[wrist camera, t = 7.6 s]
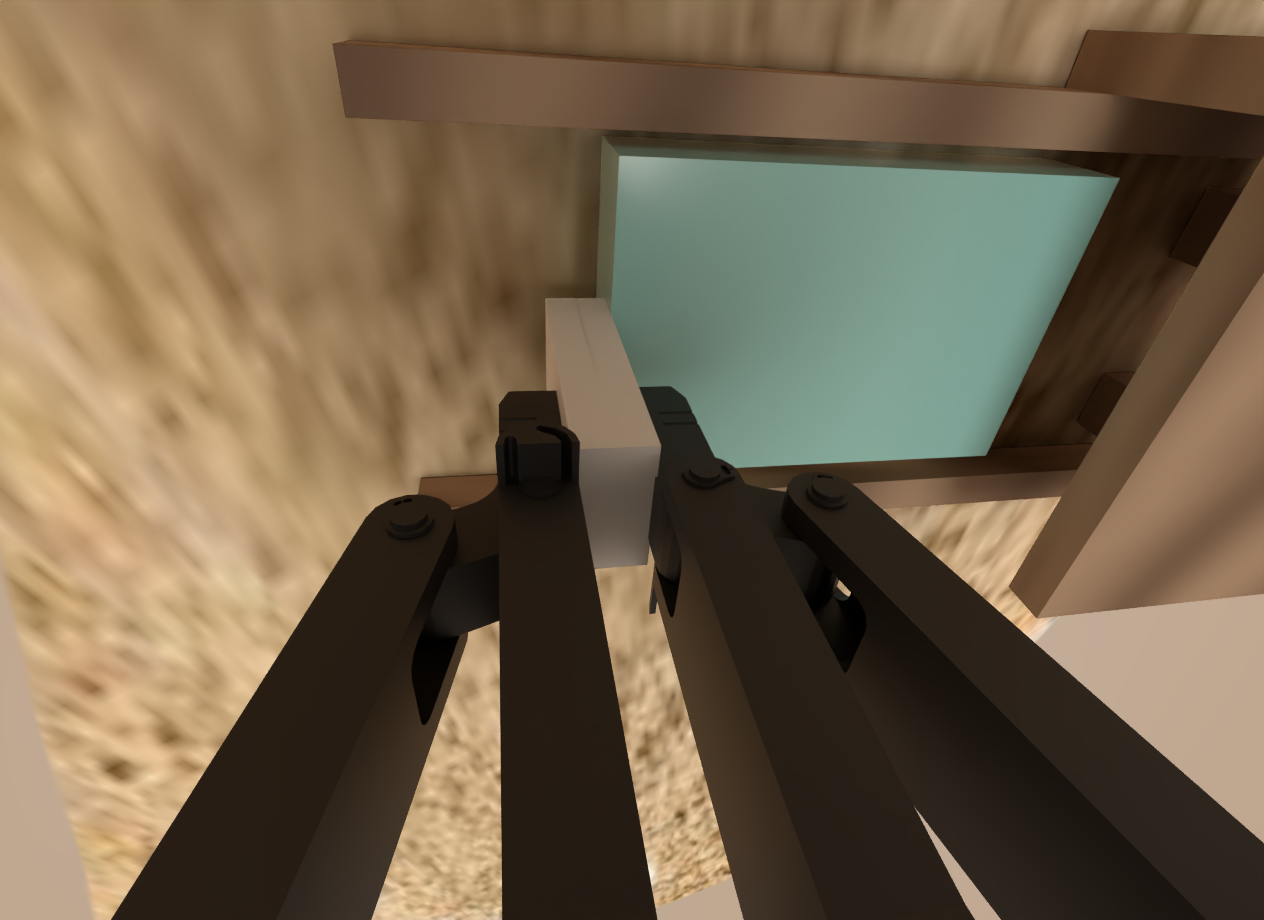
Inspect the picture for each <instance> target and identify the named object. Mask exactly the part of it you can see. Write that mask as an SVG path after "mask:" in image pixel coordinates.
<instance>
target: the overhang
mask: <svg viewBox="0 0 1264 920" xmlns="http://www.w3.org/2000/svg"><path fill="white" fill-rule="evenodd" d="M333 49H334V55H335V60H336V66H337V71H338V77H339V83H340V88H341V94H342V99H343V105H344V111H345V116H346V118H368V119H390V120H412V121H434V122H456V123H478V124H500V125H522V126H544V127H566V128H588V129H610V130H632V131H654V132H676V133H698V134H720V135H743V136H765V137H787V138H809V139H831V140H853V141H875V142H897V143H919V144H941V145H963V146H985V147H1007V148H1029V149H1051V150H1073V151H1095V152H1117V153H1139V154H1161V155H1183V156H1205V157H1227V158H1249V159H1261V161H1260V163H1259V164H1258V166H1257V168H1256V169H1255V171H1254V173H1253V174H1252V176H1251V178H1250V179H1249V181H1248V183H1247V185H1246V186H1245V188H1244V189H1232V188H1208V189H1207V191H1206V192H1205V194H1204V196H1203V198H1202V199H1201V201H1200V203H1199V205H1198V207H1197V208H1196V210H1195V212H1194V214H1193V216H1192V217H1191V219H1190V221H1189V223H1188V224H1187V226H1186V228H1185V230H1184V232H1183V233H1182V235H1181V237H1180V239H1179V241H1178V242H1177V244H1176V246H1175V248H1174V249H1173V251H1172V253H1171V255H1170V257H1171V258H1174V259H1176V260H1179V261H1182V262H1184V263H1187V264H1190V265H1193V266H1195V267H1197V269H1196V271H1195V272H1194V274H1193V276H1192V277H1191V279H1190V281H1189V283H1188V284H1187V286H1186V288H1185V289H1184V291H1183V293H1182V294H1181V296H1180V298H1179V299H1178V301H1177V303H1176V305H1175V306H1174V308H1173V310H1172V311H1171V313H1170V315H1169V316H1168V318H1167V320H1166V321H1165V323H1164V325H1163V326H1162V328H1161V330H1160V332H1159V333H1158V335H1157V337H1156V338H1155V340H1154V342H1153V343H1152V345H1151V347H1150V348H1149V350H1148V352H1147V354H1146V355H1145V357H1144V359H1143V360H1142V362H1141V364H1140V365H1139V367H1138V369H1137V370H1136V372H1123V373H1104V374H1103V376H1102V378H1101V380H1100V382H1099V383H1098V385H1097V387H1096V389H1095V391H1094V392H1093V394H1092V396H1091V398H1090V399H1089V401H1088V403H1087V405H1086V407H1085V408H1084V410H1083V412H1082V414H1081V416H1080V417H1079V419H1078V421H1077V423H1079V424H1080V425H1081V426H1083V427H1084V428H1086V429H1087V430H1088V431H1090V432H1091V433H1092V434H1094V435H1095V436H1097V438H1096V440H1095V441H1094V443H1093V444H1074V445H1055V446H1036V447H1016V448H997V449H989V450H988V452H987V454H986V456H965V457H945V458H925V459H905V460H884V461H864V462H844V463H824V464H803V465H783V466H763V467H742V468H735V469H736V470H737V471H738V472H739V473H740V475H741V477H742V479H743V480H744V482H745V484H748V485H751V486H755V487H760V488H766V489H772V490H778V491H784V492H786V490H787V486H788V484H789V482H790V481H791V479H792V478H793V477H795V476H797V475H799V474H802V473H807V472H821V473H828V474H832V475H835V476H837V477H840V478H843V479H845V480H847V481H848V482H850V483H851V484H853V485H854V486H856V487H857V488H858V489H860V490H861V491H862V492H863V493H864V494H865V495H866V496H868V497H869V498H870V499H871V500H872V501H873V502H874V503H876V504H877V505H878V506H879V507H880V508H881V509H887V508H901V507H916V506H930V505H945V504H959V503H974V502H988V501H1003V500H1017V499H1031V498H1046V497H1060V496H1062V497H1061V499H1060V501H1059V502H1058V504H1057V506H1056V507H1055V509H1054V511H1053V512H1052V514H1051V516H1050V517H1049V519H1048V521H1047V523H1046V524H1045V526H1044V528H1043V529H1042V531H1041V533H1040V534H1039V536H1038V538H1037V539H1036V541H1035V543H1034V545H1033V546H1032V548H1031V550H1030V551H1029V553H1028V555H1027V556H1026V558H1025V560H1024V561H1023V563H1022V565H1021V566H1020V568H1019V570H1018V572H1017V573H1016V575H1015V577H1014V578H1013V580H1012V582H1011V583H1010V585H1009V588H1010V589H1011V590H1012V591H1013V592H1014V593H1015V594H1016V596H1017V597H1018V598H1019V599H1020V600H1021V601H1022V602H1023V603H1024V605H1025V606H1026V607H1027V608H1028V609H1029V610H1030V611H1031V613H1032V614H1033V615H1034V616H1035V617H1036V618H1045V617H1054V616H1063V615H1073V614H1082V613H1091V612H1100V611H1110V610H1119V609H1128V608H1137V607H1146V606H1156V605H1165V604H1174V603H1183V602H1191V601H1201V600H1210V599H1220V598H1229V597H1239V596H1248V595H1256V594H1264V37H1256V36H1229V35H1203V34H1177V33H1150V32H1124V31H1097V30H1088V33H1087V35H1086V38H1085V40H1084V43H1083V45H1082V48H1081V50H1080V52H1079V55H1078V57H1077V60H1076V62H1075V65H1074V67H1073V70H1072V72H1071V75H1070V77H1069V80H1068V82H1067V85H1066V87H1065V88H1060V87H1045V86H1029V85H1014V84H999V83H984V82H969V81H954V80H939V79H923V78H908V77H893V76H878V75H863V74H848V73H833V72H817V71H802V70H787V69H772V68H757V67H742V66H727V65H711V64H696V63H681V62H666V61H651V60H636V59H621V58H605V57H590V56H575V55H560V54H545V53H530V52H514V51H499V50H484V49H469V48H454V47H439V46H424V45H408V44H393V43H378V42H363V41H344V42H339V43H334V44H333ZM497 484H498V477H497V475H480V476H461V477H441V478H422V479H421V480H420V487H419V493H418V495H428V496H432V497H437V498H440V499H441V500H443V501H444V502H446V503H447V504H449V505H450V507H451V509H452V510H453V509H457V508H460V507H464V506H467V505H470V504H472V503H475V502H477V501H479V500H481V499H483V498H484V497H486V496H487V495H488V494H490V493H491V492H492V491H493V490H494V488H495V487H496V485H497Z"/></svg>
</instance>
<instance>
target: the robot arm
mask: <svg viewBox="0 0 1264 920" xmlns="http://www.w3.org/2000/svg"><path fill="white" fill-rule="evenodd" d="M545 306H546V391H513V392H508V393H507V395H506V396H505V397H504V398H503V400H502V401H501V402H500V404H499V436H498V439H497V442H496V445H495V447H496V462H497V477H498V484H497V485H496V487H495V488H494V490H493V491H492V492H491V493H490V494H488V495H487V496H486V497H484V498H483V499H481V500H479V501H477V502H475V503H472V504H470V505H467V506H464V507H460V508H457V509H453V510H452V509H451V507H450V505H449V504H447V503H446V502H444V501H443V500H441V499H440V498H437V497H432V496H428V495H406V496H402V497H398V498H394V499H390V500H388V501H387V502H385V503H383V504H381V505H379V506H377V507H376V508H375V509H374V510H373V511H372V512H371V513H370V514H369V515H368V516H367V517H366V518H365V520H364V521H363V523H362V525H361V526H360V528H359V529H358V531H357V532H356V534H355V536H354V537H353V539H352V540H351V542H350V543H349V545H348V547H347V548H346V550H345V551H344V553H343V555H342V556H341V558H340V559H339V561H338V562H337V564H336V566H335V567H334V569H333V570H332V572H331V573H330V575H329V577H328V578H327V580H326V581H325V583H324V584H323V586H322V588H321V589H320V591H319V592H318V594H317V596H316V597H315V599H314V600H313V602H312V603H311V605H310V607H309V608H308V610H307V611H306V613H305V614H304V616H303V618H302V619H301V621H300V622H299V624H298V625H297V627H296V629H295V630H294V632H293V633H292V635H291V637H290V638H289V640H288V641H287V643H286V644H285V646H284V648H283V649H282V651H281V652H280V654H279V655H278V657H277V659H276V660H275V662H274V663H273V665H272V667H271V668H270V670H269V671H268V673H267V674H266V676H265V678H264V679H263V681H262V682H261V684H260V685H259V687H258V689H257V690H256V692H255V693H254V695H253V696H252V698H251V700H250V701H249V703H248V704H247V706H246V708H245V709H244V711H243V712H242V714H241V715H240V717H239V719H238V720H237V722H236V723H235V725H234V726H233V728H232V730H231V731H230V733H229V734H228V736H227V738H226V739H225V741H224V742H223V744H222V745H221V747H220V749H219V750H218V752H217V753H216V755H215V756H214V758H213V760H212V761H211V763H210V764H209V766H208V767H207V769H206V771H205V772H204V774H203V775H202V777H201V779H200V780H199V782H198V783H197V785H196V786H195V788H194V790H193V791H192V793H191V794H190V796H189V797H188V799H187V801H186V802H185V804H184V805H183V807H182V809H181V810H180V812H179V813H178V815H177V816H176V818H175V820H174V821H173V823H172V824H171V826H170V827H169V829H168V831H167V832H166V834H165V835H164V837H163V838H162V840H161V842H160V843H159V845H158V846H157V848H156V850H155V851H154V853H153V854H152V856H151V857H150V859H149V861H148V862H147V864H146V865H145V867H144V868H143V870H142V872H141V873H140V875H139V876H138V878H137V879H136V881H135V883H134V884H133V886H132V887H131V889H130V891H129V892H128V894H127V895H126V897H125V898H124V900H123V902H122V903H121V905H120V906H119V908H118V909H117V911H116V913H115V914H114V916H113V917H112V919H111V920H371V919H372V916H373V913H374V910H375V907H376V904H377V902H378V899H379V896H380V893H381V890H382V887H383V884H384V881H385V878H386V875H387V872H388V870H389V867H390V864H391V861H392V858H393V855H394V852H395V849H396V846H397V843H398V840H399V837H400V835H401V832H402V829H403V826H404V823H405V820H406V817H407V814H408V811H409V808H410V805H411V803H412V800H413V797H414V794H415V791H416V788H417V785H418V782H419V779H420V776H421V773H422V770H423V768H424V765H425V762H426V759H427V756H428V753H429V750H430V747H431V744H432V741H433V738H434V736H435V733H436V730H437V727H438V724H439V721H440V718H441V715H442V712H443V709H444V706H445V703H446V701H447V698H448V695H449V692H450V689H451V686H452V683H453V680H454V677H455V674H456V671H457V668H458V666H459V663H460V660H461V657H462V654H463V651H464V648H465V645H466V642H467V638H468V632H470V631H472V630H475V629H478V628H480V627H483V626H486V625H489V624H491V623H494V622H497V621H499V624H500V726H501V828H502V920H657V915H656V909H655V904H654V898H653V892H652V887H651V881H650V876H649V870H648V865H647V859H646V853H645V848H644V842H643V837H642V831H641V826H640V820H639V815H638V809H637V803H636V798H635V792H634V787H633V781H632V776H631V770H630V765H629V759H628V753H627V748H626V742H625V737H624V731H623V726H622V720H621V714H620V709H619V703H618V698H617V692H616V687H615V681H614V676H613V670H612V664H611V659H610V653H609V648H608V642H607V637H606V631H605V625H604V620H603V614H602V609H601V603H600V598H599V592H598V587H597V581H596V575H595V570H594V569H597V568H611V567H624V566H637V565H647V562H648V554H649V545H650V547H651V551H652V554H653V557H654V561H655V564H654V572H653V580H652V588H651V596H650V604H649V614H653V613H655V612H656V604H657V602H658V605H659V609H660V613H661V616H662V620H663V624H664V627H665V631H666V635H667V638H668V642H669V646H670V650H671V653H672V657H673V661H674V664H675V668H676V672H677V675H678V679H679V683H680V686H681V690H682V694H683V697H684V701H685V705H686V708H687V712H688V716H689V720H690V723H691V727H692V731H693V734H694V738H695V742H696V745H697V749H698V753H699V756H700V760H701V764H702V767H703V771H704V775H705V778H706V782H707V786H708V790H709V793H710V797H711V801H712V804H713V808H714V812H715V815H716V819H717V823H718V826H719V830H720V834H721V837H722V841H723V845H724V848H725V852H726V856H727V860H728V863H729V867H730V871H731V874H732V878H733V881H734V885H735V889H736V893H737V896H738V900H739V903H740V907H741V911H742V914H743V918H744V920H975V919H974V918H973V916H972V914H971V913H970V911H969V909H968V908H967V906H966V905H965V903H964V901H963V899H962V897H961V895H960V893H959V892H958V889H957V888H956V886H955V884H954V882H953V880H952V878H951V876H950V874H949V872H948V870H947V868H946V867H945V865H944V863H943V861H942V859H941V857H940V855H939V853H938V851H937V849H936V847H935V846H934V844H933V842H932V840H931V838H930V836H929V834H928V832H927V830H926V828H925V826H924V825H923V823H922V821H921V819H920V817H919V815H918V813H917V811H916V809H917V810H918V812H919V813H920V814H921V815H922V817H923V818H924V820H925V821H926V822H927V823H928V825H929V826H930V827H931V829H932V830H933V831H934V833H935V834H936V835H937V837H938V838H939V839H940V840H941V842H942V843H943V844H944V846H945V847H946V848H947V850H948V851H949V852H950V853H951V854H952V856H953V857H954V859H955V860H956V861H957V862H958V864H959V865H960V866H961V868H962V869H963V870H964V872H965V873H966V874H967V876H968V877H969V878H970V880H971V881H972V882H973V883H974V885H975V886H976V887H977V889H978V890H979V891H980V893H981V894H982V895H983V897H984V898H985V899H986V900H987V902H988V903H989V904H990V906H991V907H992V908H993V909H994V911H995V912H996V913H997V915H998V916H999V917H1000V919H1001V920H1264V843H1263V842H1262V841H1261V840H1259V839H1258V838H1257V837H1256V836H1255V835H1254V834H1253V833H1251V832H1250V831H1249V830H1248V829H1247V828H1246V827H1245V826H1243V825H1242V824H1241V823H1240V822H1239V821H1238V820H1237V819H1235V818H1234V817H1233V816H1232V815H1231V814H1230V813H1229V812H1227V811H1226V810H1225V809H1224V808H1223V807H1222V806H1220V805H1219V804H1218V803H1217V802H1216V801H1215V800H1214V799H1213V798H1211V797H1210V796H1209V795H1208V794H1207V793H1206V792H1205V791H1203V790H1202V789H1201V788H1200V787H1199V786H1198V785H1196V784H1195V783H1194V782H1193V781H1192V780H1191V779H1190V778H1189V777H1187V776H1186V775H1185V774H1184V773H1183V772H1182V771H1181V770H1179V769H1178V768H1177V767H1176V766H1175V765H1174V764H1172V763H1171V762H1170V761H1169V760H1168V759H1167V758H1166V757H1165V756H1163V755H1162V754H1161V753H1160V752H1159V751H1157V749H1155V748H1154V747H1153V746H1152V745H1151V744H1150V743H1149V742H1147V741H1146V740H1145V739H1144V738H1143V737H1142V736H1141V735H1139V734H1138V733H1137V732H1136V731H1135V730H1134V729H1133V728H1131V727H1130V726H1129V725H1128V724H1127V723H1126V722H1125V721H1123V720H1122V719H1121V718H1120V717H1119V716H1118V715H1117V714H1115V713H1114V712H1113V711H1112V710H1111V709H1110V708H1109V707H1107V706H1106V705H1105V704H1104V703H1103V702H1102V701H1101V700H1100V699H1098V698H1097V697H1096V696H1095V695H1093V694H1092V692H1090V691H1089V690H1088V689H1087V688H1086V687H1084V686H1083V685H1082V684H1081V683H1080V682H1079V681H1077V679H1076V678H1074V677H1073V676H1072V675H1071V674H1070V673H1069V672H1068V671H1066V670H1065V669H1064V668H1063V667H1062V666H1061V665H1059V664H1058V663H1057V662H1056V661H1055V660H1054V659H1053V658H1052V657H1050V656H1049V655H1048V654H1047V653H1046V652H1045V651H1044V650H1042V649H1041V648H1040V647H1039V646H1038V645H1037V644H1036V643H1034V642H1033V641H1032V640H1031V639H1030V638H1029V637H1028V636H1026V635H1025V634H1024V633H1023V632H1022V631H1021V630H1020V629H1018V628H1017V627H1016V626H1015V625H1014V624H1013V623H1012V622H1010V621H1009V620H1008V619H1007V618H1006V617H1005V616H1004V615H1002V614H1001V613H1000V612H999V611H998V610H997V609H996V608H994V607H993V606H992V605H991V604H990V603H989V602H988V601H986V600H985V599H984V598H983V597H982V596H981V595H980V594H978V593H977V592H976V591H975V590H974V589H973V588H972V587H970V586H969V585H968V584H967V583H966V582H965V581H964V580H962V579H961V578H960V577H959V576H958V575H957V574H956V573H954V572H953V571H952V570H951V569H950V568H949V567H948V566H946V565H945V564H944V563H943V562H942V561H941V560H940V559H938V558H937V557H936V556H935V555H934V554H933V553H932V552H930V551H929V550H928V549H927V548H926V547H925V546H924V545H922V544H921V543H920V542H919V541H918V540H917V539H916V538H914V537H913V536H912V535H911V534H910V533H909V532H908V531H906V530H905V529H904V528H903V527H902V526H901V525H900V524H898V523H897V522H896V521H895V520H894V519H893V518H892V517H890V516H889V515H888V514H887V513H886V512H885V511H884V510H882V509H881V508H880V507H879V506H878V505H877V504H876V503H874V502H873V501H872V500H871V499H870V498H869V497H868V496H866V495H865V494H864V493H863V492H862V491H861V490H860V489H858V488H857V487H856V486H854V485H853V484H851V483H850V482H848V481H847V480H845V479H843V478H840V477H837V476H835V475H832V474H828V473H821V472H807V473H802V474H799V475H797V476H795V477H793V478H792V479H791V481H790V482H789V484H788V486H787V490H786V492H784V491H778V490H772V489H766V488H760V487H755V486H751V485H748V484H745V482H744V480H743V479H742V477H741V475H740V473H739V472H738V471H737V470H736V469H735V468H734V466H732V465H731V464H729V463H727V462H726V461H724V460H722V459H719V458H716V457H715V456H714V454H713V452H712V450H711V448H710V446H709V444H708V442H707V440H706V438H705V436H704V434H703V432H702V430H701V428H700V426H699V424H698V423H697V420H696V418H695V415H694V414H692V409H691V407H690V405H689V403H688V401H687V399H686V397H684V396H683V395H682V394H680V393H679V392H678V391H677V390H675V389H674V388H673V387H671V386H654V387H639V386H638V384H637V381H636V378H635V376H634V373H633V370H632V368H631V365H630V363H629V360H628V357H627V355H626V352H625V349H624V347H623V344H622V342H621V339H620V336H619V334H618V331H617V328H616V326H615V323H614V321H613V318H612V315H611V314H610V311H609V309H608V306H607V303H606V301H605V298H545ZM839 580H840V581H841V582H842V583H843V584H844V585H845V586H846V587H847V589H848V590H849V591H850V592H851V595H850V596H849V597H848V596H846V595H845V594H844V593H843V592H841V590H840V589H839V588H838V587H837V584H838V581H839ZM914 806H915V807H914ZM915 808H916V809H915Z"/></svg>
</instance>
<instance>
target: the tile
mask: <svg viewBox="0 0 1264 920" xmlns="http://www.w3.org/2000/svg"><path fill="white" fill-rule="evenodd" d="M1119 179H1120V178H1118V177H1114V176H1110V175H1107V174H1103V173H1099V172H1096V171H1092V170H1088V169H1085V168H1081V167H1077V166H1073V165H1070V164H1066V163H1062V162H1059V161H1055V160H1051V159H1048V158H1038V157H1019V156H999V155H979V154H959V153H940V152H920V151H900V150H880V149H861V148H841V147H821V146H801V145H782V144H762V143H742V142H722V141H703V140H683V139H663V138H643V137H624V136H604V135H602V156H601V183H600V209H599V236H598V262H597V289H596V298H605V301H606V303H607V306H608V309H609V311H610V314H611V315H612V318H613V321H614V323H615V326H616V328H617V331H618V334H619V336H620V339H621V342H622V344H623V347H624V349H625V352H626V355H627V357H628V360H629V363H630V365H631V368H632V370H633V373H634V376H635V378H636V381H637V384H638V386H639V387H654V386H671V387H673V388H674V389H675V390H677V391H678V392H679V393H680V394H682V395H683V396H684V397H686V399H687V401H688V403H689V405H690V407H691V409H692V414H694V415H695V418H696V420H697V423H698V424H699V426H700V428H701V430H702V432H703V434H704V436H705V438H706V440H707V442H708V444H709V446H710V448H711V450H712V452H713V454H714V456H715V457H716V458H719V459H722V460H724V461H726V462H727V463H729V464H731V465H732V466H734V468H742V467H763V466H783V465H803V464H824V463H844V462H864V461H884V460H905V459H925V458H945V457H965V456H986V454H987V452H988V450H989V448H990V446H991V444H992V442H993V440H994V438H995V436H996V434H997V432H998V430H999V427H1000V425H1001V423H1002V421H1003V419H1004V417H1005V415H1006V413H1007V411H1008V409H1009V407H1010V405H1011V403H1012V401H1013V399H1014V396H1015V394H1016V392H1017V390H1018V388H1019V386H1020V384H1021V382H1022V380H1023V378H1024V376H1025V374H1026V372H1027V370H1028V367H1029V365H1030V363H1031V361H1032V359H1033V357H1034V355H1035V353H1036V351H1037V349H1038V347H1039V345H1040V343H1041V341H1042V338H1043V336H1044V334H1045V332H1046V330H1047V328H1048V326H1049V324H1050V322H1051V320H1052V318H1053V316H1054V314H1055V312H1056V310H1057V307H1058V305H1059V303H1060V301H1061V299H1062V297H1063V295H1064V293H1065V291H1066V289H1067V287H1068V285H1069V283H1070V281H1071V278H1072V276H1073V274H1074V272H1075V270H1076V268H1077V266H1078V264H1079V262H1080V260H1081V258H1082V256H1083V254H1084V252H1085V249H1086V247H1087V245H1088V243H1089V241H1090V239H1091V237H1092V235H1093V233H1094V231H1095V229H1096V227H1097V225H1098V223H1099V221H1100V218H1101V216H1102V214H1103V212H1104V210H1105V208H1106V206H1107V204H1108V202H1109V200H1110V198H1111V196H1112V194H1113V192H1114V189H1115V187H1116V185H1117V183H1118V181H1119Z"/></svg>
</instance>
